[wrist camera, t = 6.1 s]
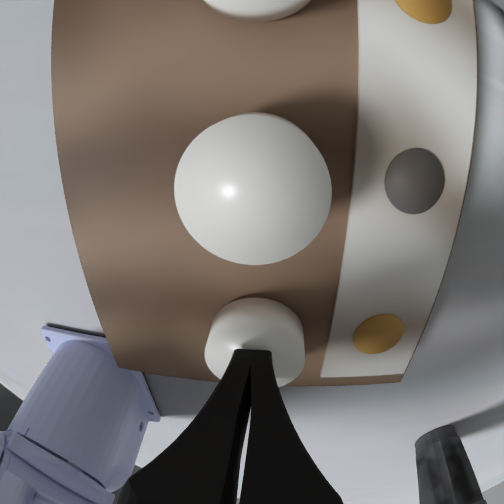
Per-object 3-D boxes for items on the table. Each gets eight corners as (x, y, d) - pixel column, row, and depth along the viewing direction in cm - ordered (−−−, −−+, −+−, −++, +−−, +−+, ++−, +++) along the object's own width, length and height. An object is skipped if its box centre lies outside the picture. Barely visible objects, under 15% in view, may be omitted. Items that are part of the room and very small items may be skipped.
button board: (390, 351, 17) (401, 385, 15) (132, 339, 18) (116, 371, 16) (437, -45, 7) (464, -63, 4) (91, -41, 8) (59, -57, 5)
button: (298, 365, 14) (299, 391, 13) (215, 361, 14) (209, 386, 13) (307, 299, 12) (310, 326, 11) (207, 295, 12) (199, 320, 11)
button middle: (318, 241, 10) (324, 267, 9) (195, 237, 10) (181, 262, 9) (326, 114, 8) (336, 119, 7) (186, 114, 8) (168, 118, 7)
